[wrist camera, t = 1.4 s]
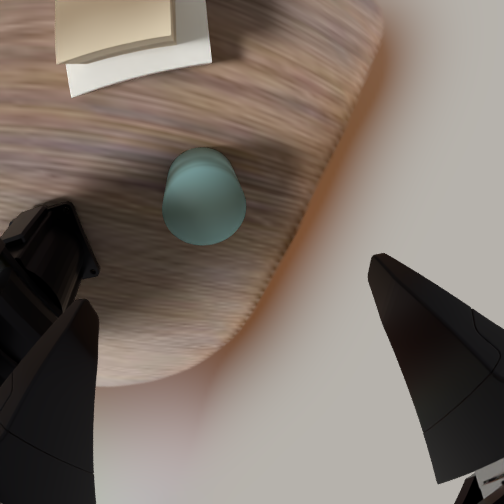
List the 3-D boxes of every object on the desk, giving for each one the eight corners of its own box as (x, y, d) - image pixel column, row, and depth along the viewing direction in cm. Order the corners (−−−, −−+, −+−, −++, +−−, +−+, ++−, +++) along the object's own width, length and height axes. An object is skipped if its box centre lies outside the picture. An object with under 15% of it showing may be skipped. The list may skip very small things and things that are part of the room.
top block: (176, 45, 12) (171, 35, 8) (87, 64, 11) (56, 64, 8) (175, -32, 9) (171, -60, 5) (85, -11, 8) (57, -29, 5)
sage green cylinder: (237, 202, 20) (249, 237, 16) (175, 214, 19) (172, 252, 16) (230, 142, 17) (241, 163, 14) (161, 154, 17) (153, 179, 13)
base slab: (209, 64, 14) (212, 62, 12) (86, 93, 14) (71, 97, 12) (199, -41, 10) (200, -56, 8) (75, -10, 9) (60, -18, 7)
